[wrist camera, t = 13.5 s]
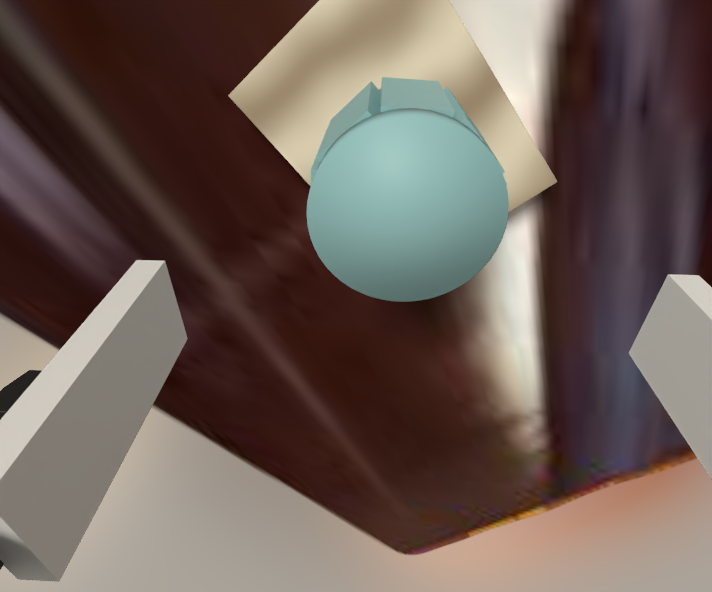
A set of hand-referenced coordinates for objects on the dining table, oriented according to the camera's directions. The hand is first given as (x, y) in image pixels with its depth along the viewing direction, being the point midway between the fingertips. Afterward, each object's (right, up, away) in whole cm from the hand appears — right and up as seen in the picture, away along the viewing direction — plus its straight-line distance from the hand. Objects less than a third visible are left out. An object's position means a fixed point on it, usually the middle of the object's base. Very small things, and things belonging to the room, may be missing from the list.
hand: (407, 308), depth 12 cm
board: (+1, +11, +15) cm, 19 cm away
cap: (+1, +7, +10) cm, 13 cm away
